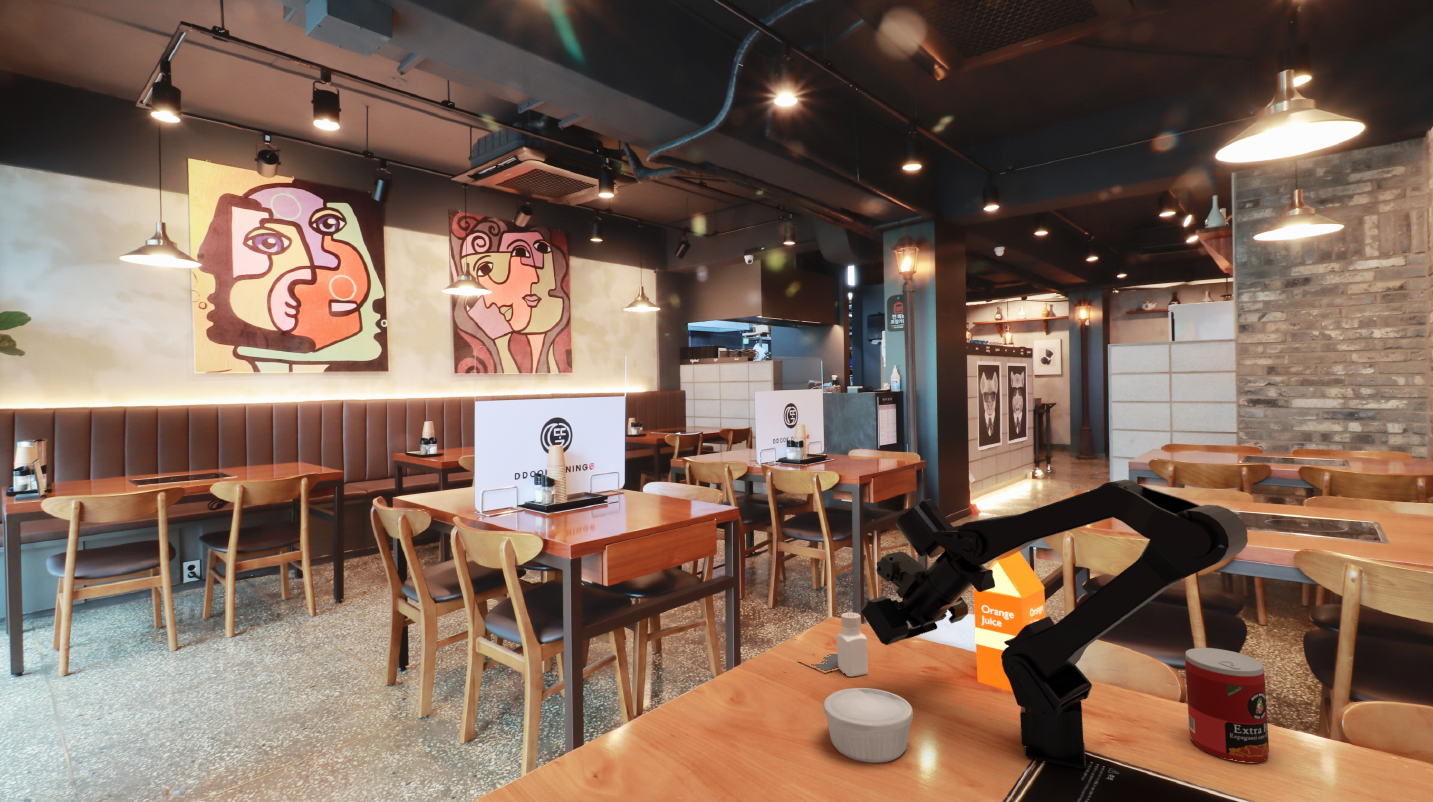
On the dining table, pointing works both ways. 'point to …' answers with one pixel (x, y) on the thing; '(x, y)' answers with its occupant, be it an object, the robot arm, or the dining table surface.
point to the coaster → (828, 663)
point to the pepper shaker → (852, 646)
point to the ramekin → (868, 724)
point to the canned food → (1227, 704)
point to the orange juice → (1005, 615)
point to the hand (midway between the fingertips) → (887, 640)
